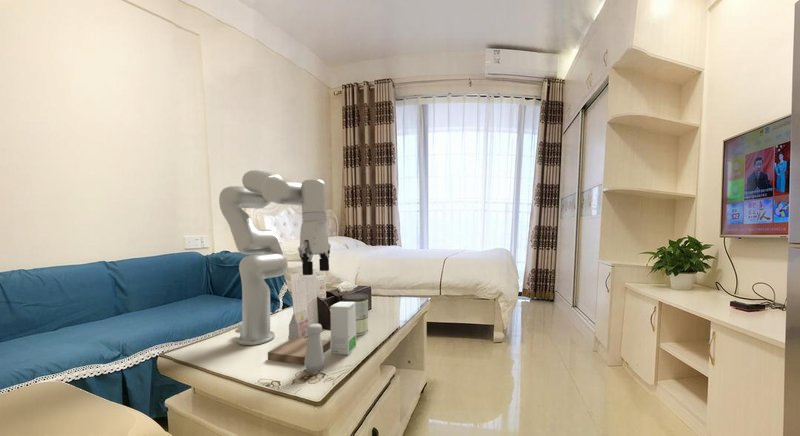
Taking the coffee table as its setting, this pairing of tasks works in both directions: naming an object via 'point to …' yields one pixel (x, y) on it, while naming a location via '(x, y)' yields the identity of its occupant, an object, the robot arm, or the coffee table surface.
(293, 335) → the tea bag
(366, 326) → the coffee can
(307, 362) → the salt shaker
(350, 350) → the skincare box
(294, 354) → the walnut slab
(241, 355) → the coffee table surface
